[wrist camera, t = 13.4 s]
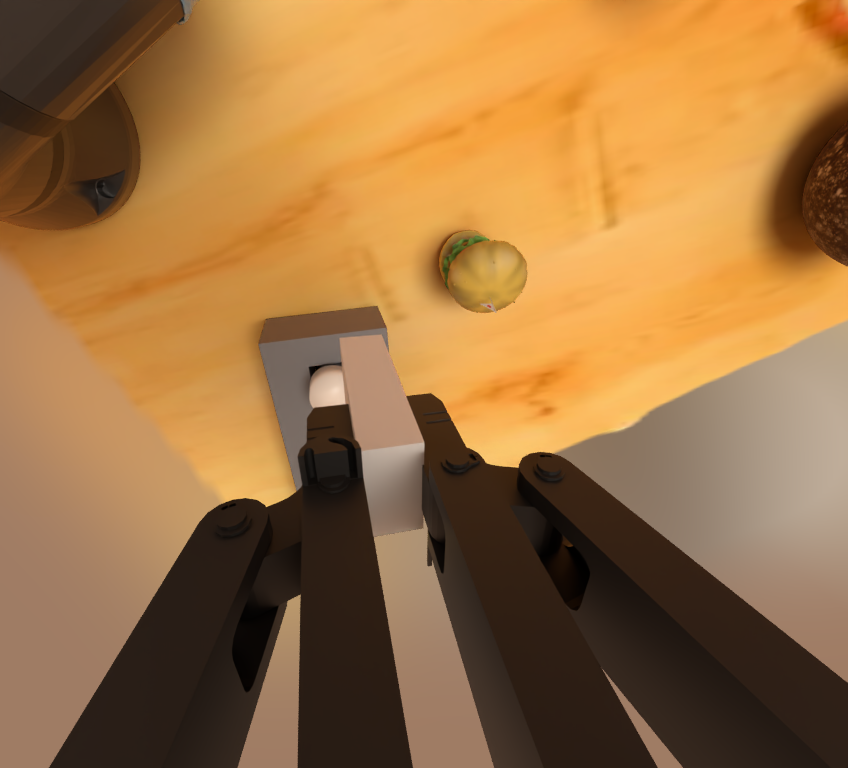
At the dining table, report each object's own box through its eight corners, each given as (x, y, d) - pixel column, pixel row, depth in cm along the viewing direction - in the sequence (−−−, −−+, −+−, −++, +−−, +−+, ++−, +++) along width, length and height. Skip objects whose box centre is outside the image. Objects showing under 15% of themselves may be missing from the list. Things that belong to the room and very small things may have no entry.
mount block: (309, 498, 57) (309, 538, 51) (266, 319, 44) (258, 343, 38) (395, 482, 59) (404, 518, 53) (377, 305, 47) (386, 327, 41)
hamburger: (504, 238, 46) (558, 261, 36) (481, 299, 49) (525, 337, 39) (441, 217, 44) (480, 234, 33) (420, 283, 46) (450, 318, 36)
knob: (313, 375, 48) (313, 420, 40) (306, 340, 46) (305, 379, 38) (351, 369, 49) (359, 412, 41) (346, 335, 47) (353, 372, 39)
